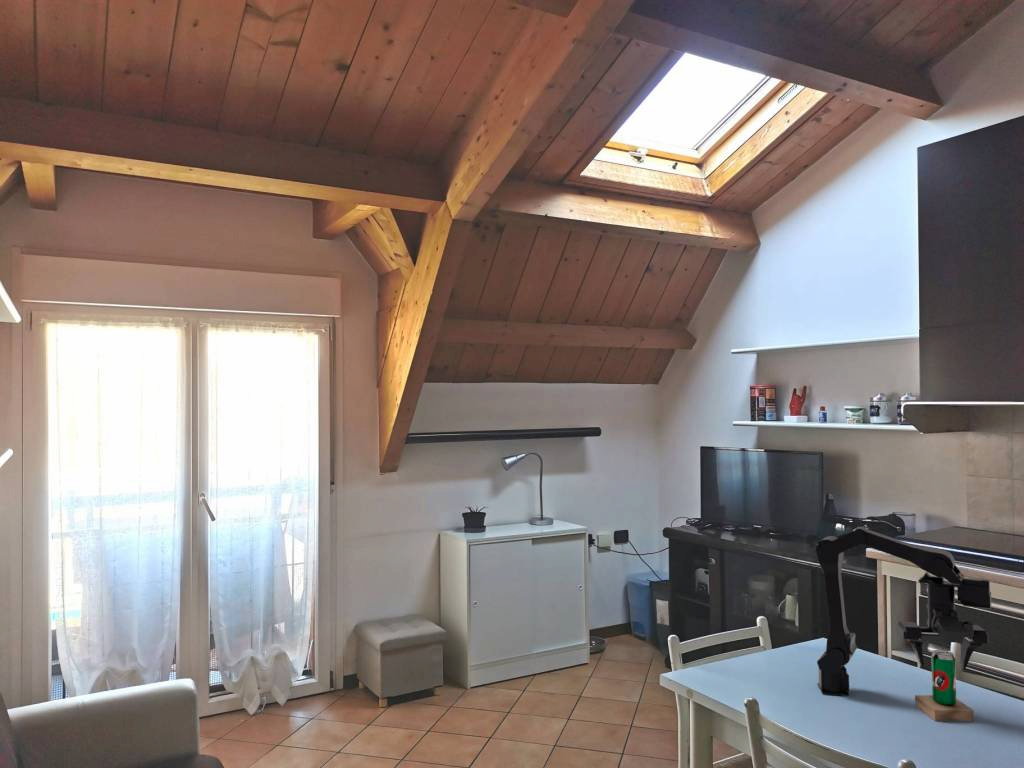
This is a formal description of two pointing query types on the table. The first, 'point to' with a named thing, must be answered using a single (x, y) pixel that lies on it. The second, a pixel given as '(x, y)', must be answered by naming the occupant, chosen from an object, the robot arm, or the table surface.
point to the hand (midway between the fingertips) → (942, 667)
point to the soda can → (943, 677)
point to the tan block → (943, 709)
